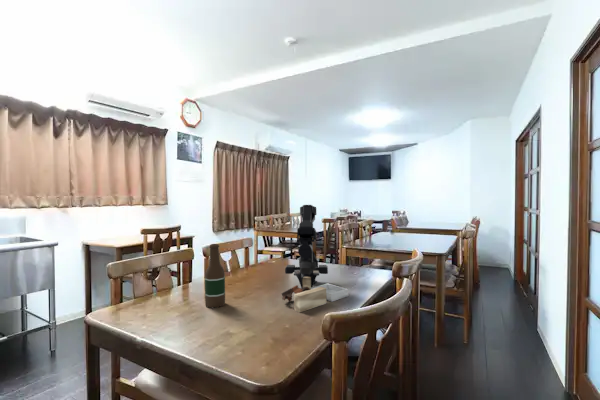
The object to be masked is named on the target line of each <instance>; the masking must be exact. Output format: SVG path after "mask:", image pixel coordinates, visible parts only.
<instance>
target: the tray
mask: <svg viewBox="0 0 600 400" xmlns="http://www.w3.org/2000/svg"><path fill="white" fill-rule="evenodd" d="M318 287H324V288H326V301H329V302H335V301H337V300H340V299H344V298H347V297H349V289H348V288H346V287H342V286H338V285H335V284H332V283H328V282H327V283H325V284H319V285H317V286H316V285H315V286H313V287H312V288H311V289H315V288H318Z"/></svg>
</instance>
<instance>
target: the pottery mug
mask: <svg viewBox="0 0 600 400" xmlns="http://www.w3.org/2000/svg"><path fill="white" fill-rule="evenodd" d="M305 290H306V291H308V290H310V289H309V287H303V288H301V287H299V285H295V286H292V287H290V288H289V289H287V290H285V291H284V292H282V293H281V295H282V297H281V300H282V301H285V300H287V301H288V302H290V301H292V300H293V293H294V294H297V293H300V292H304V291H305Z"/></svg>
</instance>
